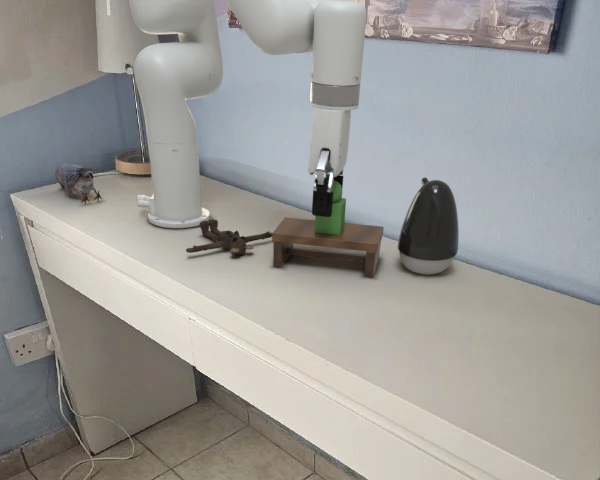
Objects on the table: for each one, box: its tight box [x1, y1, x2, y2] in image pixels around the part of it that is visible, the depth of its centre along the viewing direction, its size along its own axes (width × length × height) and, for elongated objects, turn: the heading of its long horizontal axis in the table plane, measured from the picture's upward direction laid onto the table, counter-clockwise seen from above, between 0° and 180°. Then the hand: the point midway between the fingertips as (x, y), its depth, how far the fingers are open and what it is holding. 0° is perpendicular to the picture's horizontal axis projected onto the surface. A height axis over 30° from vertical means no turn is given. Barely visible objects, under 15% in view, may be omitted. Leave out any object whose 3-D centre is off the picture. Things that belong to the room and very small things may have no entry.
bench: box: [271, 216, 384, 279], centre depth 108 cm, size 18×9×6 cm, turn 77°
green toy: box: [314, 180, 347, 235], centre depth 104 cm, size 4×4×8 cm
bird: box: [55, 163, 103, 205], centre depth 137 cm, size 5×16×7 cm, turn 43°
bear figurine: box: [185, 218, 273, 256], centre depth 115 cm, size 18×4×14 cm
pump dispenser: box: [397, 177, 460, 276], centre depth 104 cm, size 10×10×15 cm
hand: (327, 206), depth 104 cm, fingers open, 9 cm apart
